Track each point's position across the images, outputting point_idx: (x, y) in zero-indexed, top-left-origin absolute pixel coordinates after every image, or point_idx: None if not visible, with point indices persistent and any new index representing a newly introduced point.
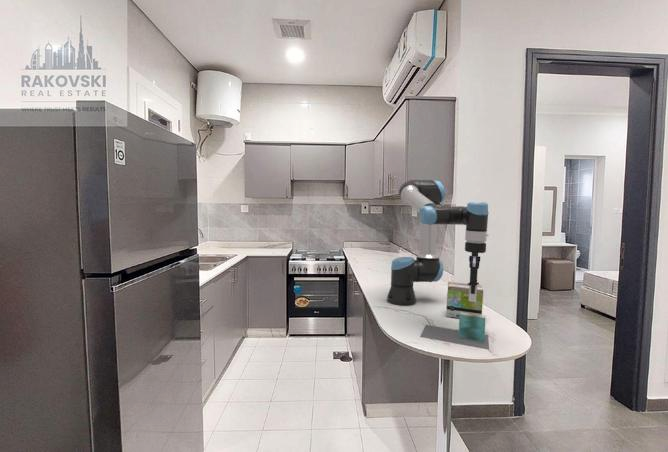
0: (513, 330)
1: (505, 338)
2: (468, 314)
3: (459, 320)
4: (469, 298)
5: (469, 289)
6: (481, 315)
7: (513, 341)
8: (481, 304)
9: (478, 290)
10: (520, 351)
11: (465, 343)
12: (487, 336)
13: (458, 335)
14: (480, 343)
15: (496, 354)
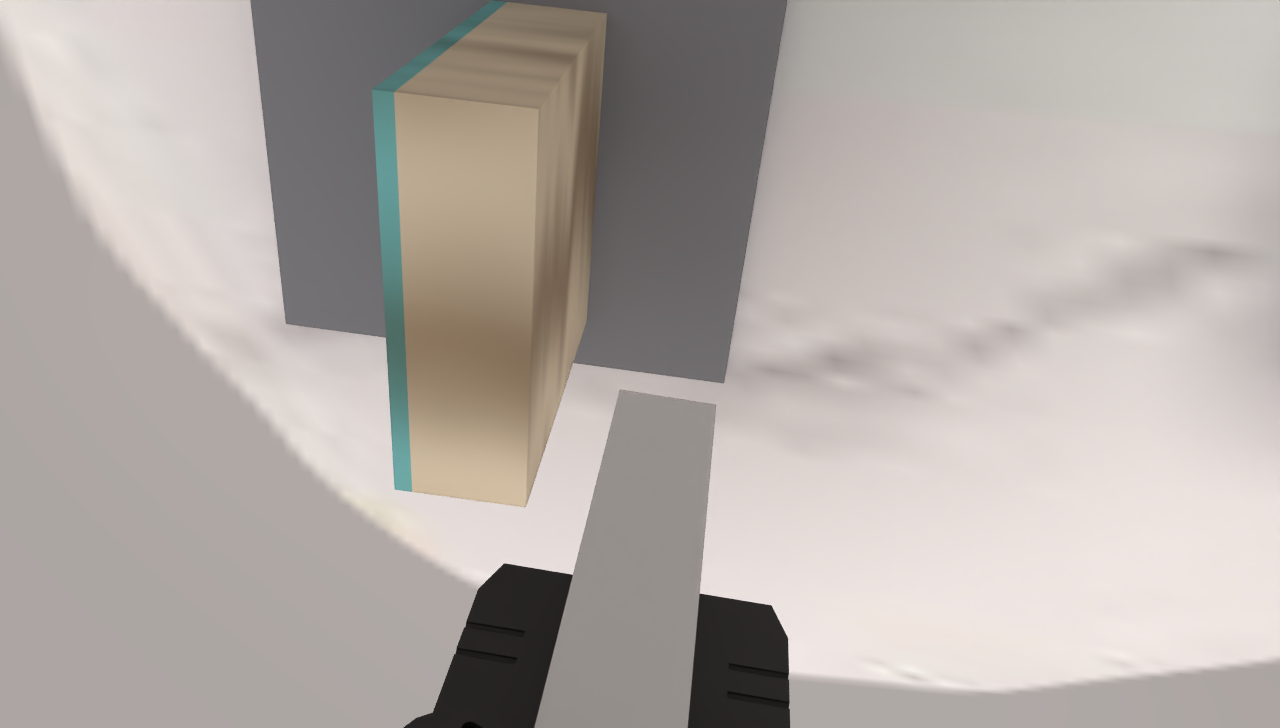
0: (1014, 643)
1: (735, 525)
2: (453, 260)
3: (413, 62)
4: (606, 445)
5: (561, 620)
6: (503, 457)
7: None
8: None
9: None
10: (448, 569)
11: (314, 81)
12: (674, 367)
13: (554, 3)
14: None
15: (256, 367)
